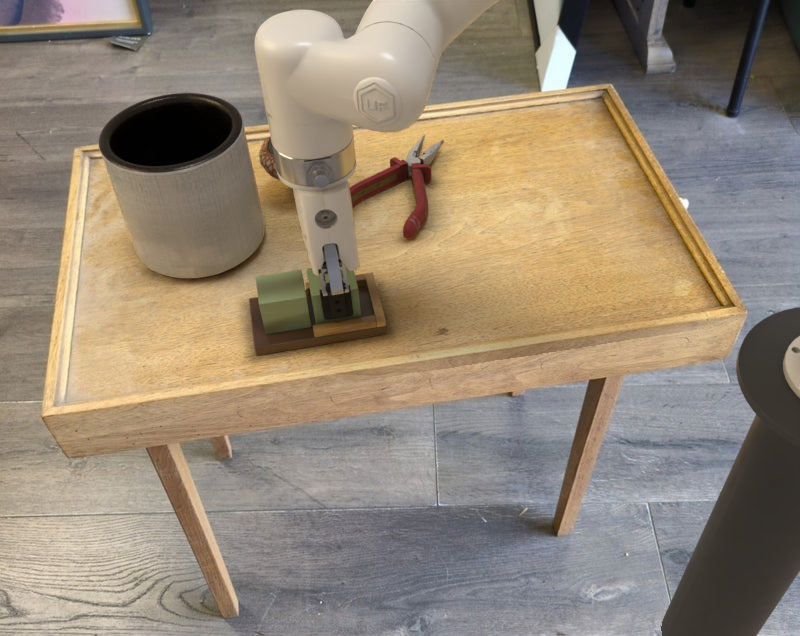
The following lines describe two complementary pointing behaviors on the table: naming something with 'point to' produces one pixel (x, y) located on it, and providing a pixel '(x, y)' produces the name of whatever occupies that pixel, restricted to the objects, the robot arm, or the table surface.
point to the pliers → (399, 174)
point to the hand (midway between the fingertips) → (334, 296)
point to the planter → (184, 183)
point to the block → (316, 299)
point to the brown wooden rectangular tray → (307, 314)
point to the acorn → (268, 158)
